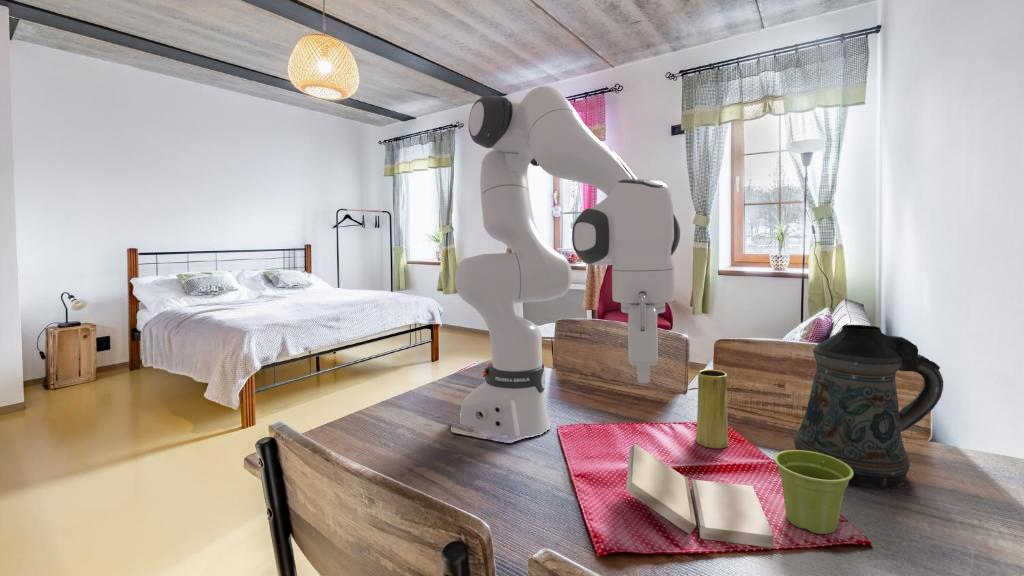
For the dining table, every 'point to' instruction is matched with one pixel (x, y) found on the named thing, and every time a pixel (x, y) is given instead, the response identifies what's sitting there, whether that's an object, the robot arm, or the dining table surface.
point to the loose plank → (660, 488)
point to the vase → (712, 409)
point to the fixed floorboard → (730, 514)
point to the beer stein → (866, 404)
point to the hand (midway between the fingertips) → (643, 380)
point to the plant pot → (813, 488)
